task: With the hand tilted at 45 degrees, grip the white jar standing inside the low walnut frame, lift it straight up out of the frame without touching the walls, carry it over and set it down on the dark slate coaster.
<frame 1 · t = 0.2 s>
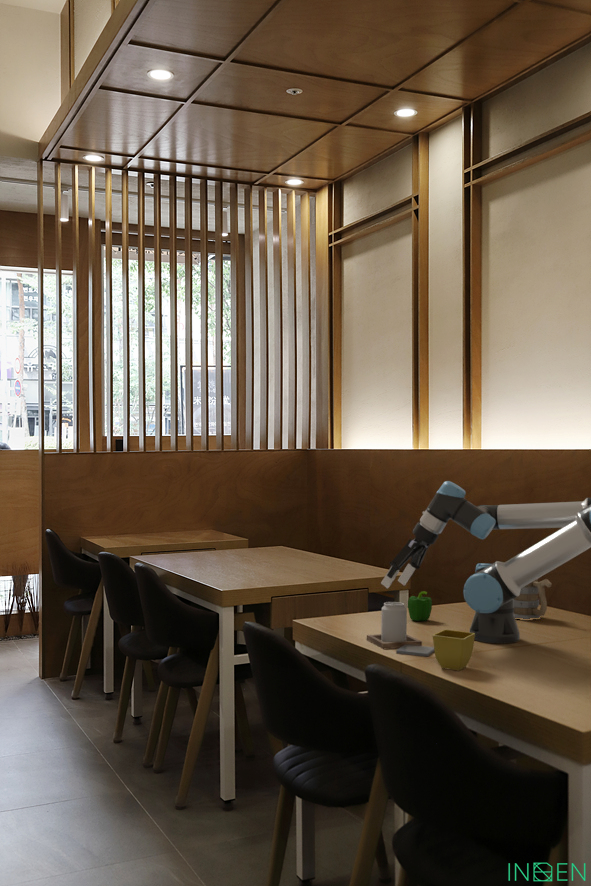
hand: (392, 584, 256), 16 cm above the table, tool tilted 30°, fingers open, 13 cm apart
flower pot: (453, 668, 217), on the table
slate coaster: (415, 651, 236), on the table
walnut frame: (393, 643, 247), on the table
tankard: (529, 619, 290), on the table
white jar: (393, 643, 247), resting in walnut frame
bell pepper: (419, 620, 285), on the table
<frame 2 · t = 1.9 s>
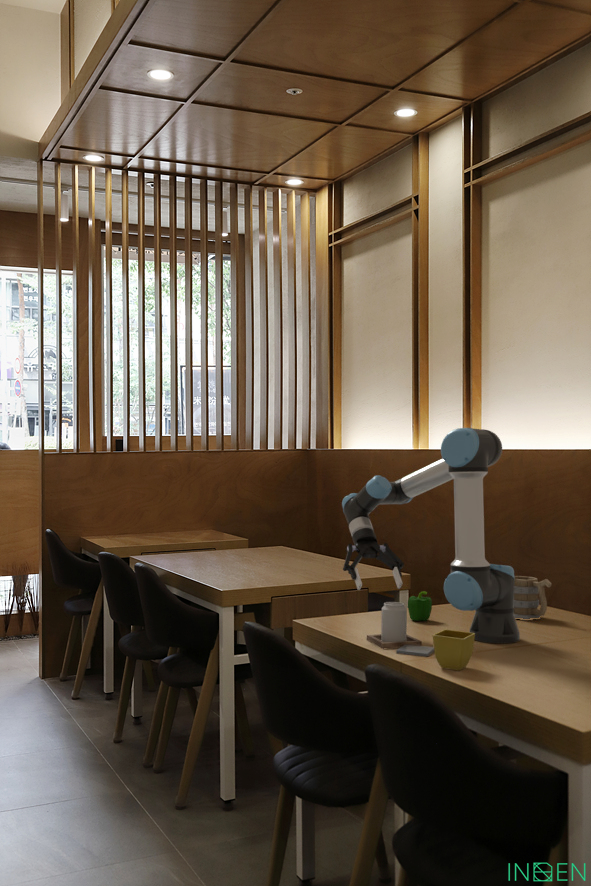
hand: (380, 586, 257), 15 cm above the table, tool tilted 45°, fingers open, 13 cm apart
nothing on the table moved.
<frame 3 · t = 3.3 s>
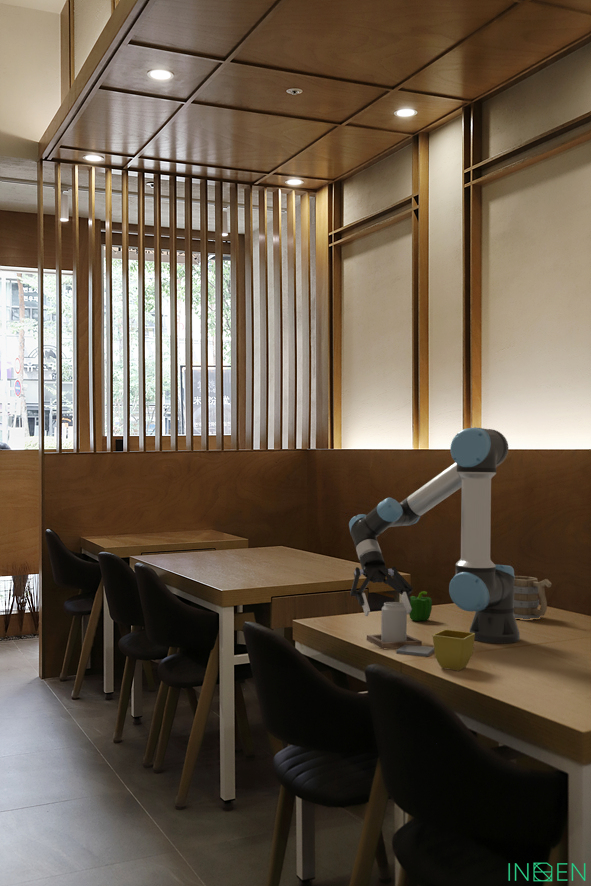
hand: (388, 612, 249), 9 cm above the table, tool tilted 45°, fingers open, 13 cm apart
nothing on the table moved.
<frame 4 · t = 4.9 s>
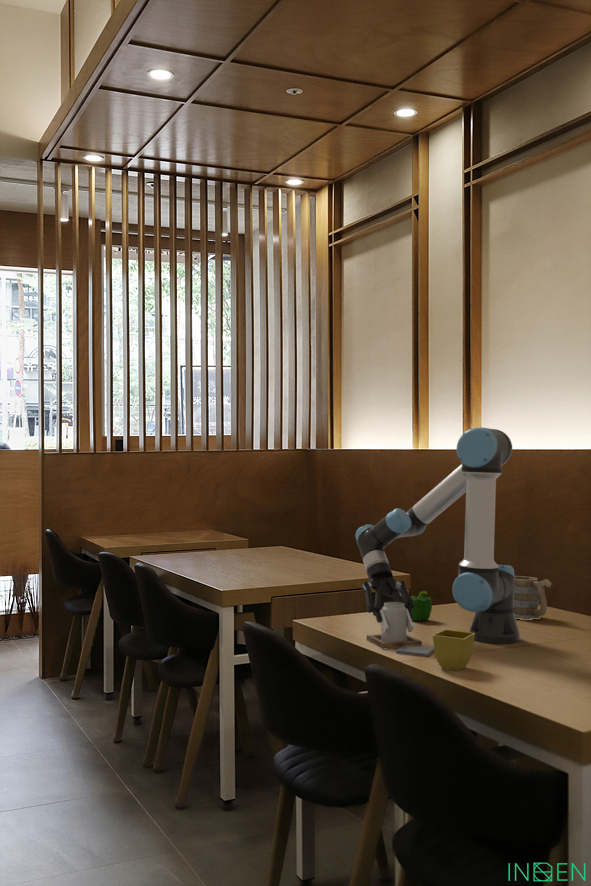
hand: (398, 630, 244), 5 cm above the table, tool tilted 45°, fingers closed on white jar, 7 cm apart
white jar: (393, 643, 247), resting in walnut frame, touching gripper
everything else where it was.
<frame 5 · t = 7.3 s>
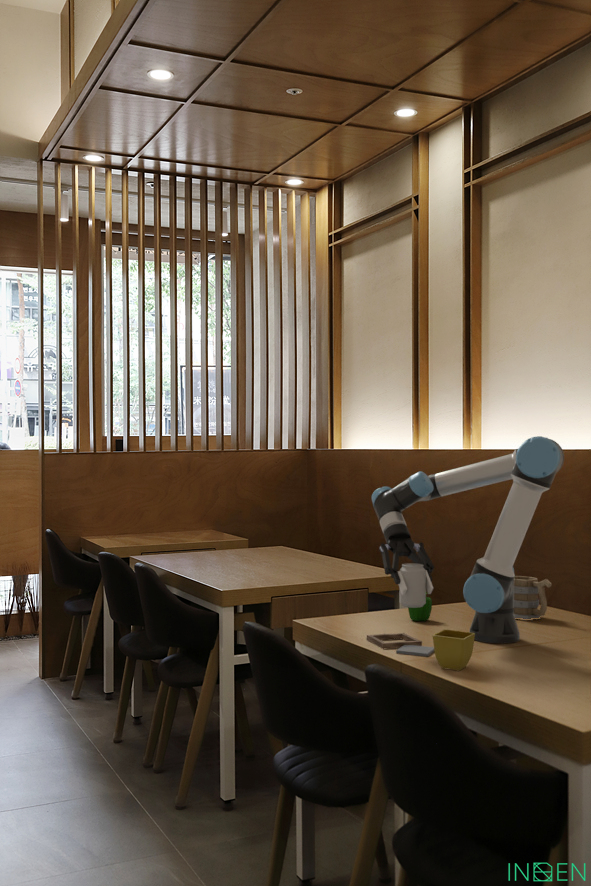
hand: (417, 591, 234), 17 cm above the table, tool tilted 45°, fingers closed on white jar, 7 cm apart
white jar: (412, 606, 237), point 13 cm above the table, touching gripper
everything else where it was.
when the fingers open (6 cm above the table, at t = 10.0 s): white jar stays where it is, resting on slate coaster.
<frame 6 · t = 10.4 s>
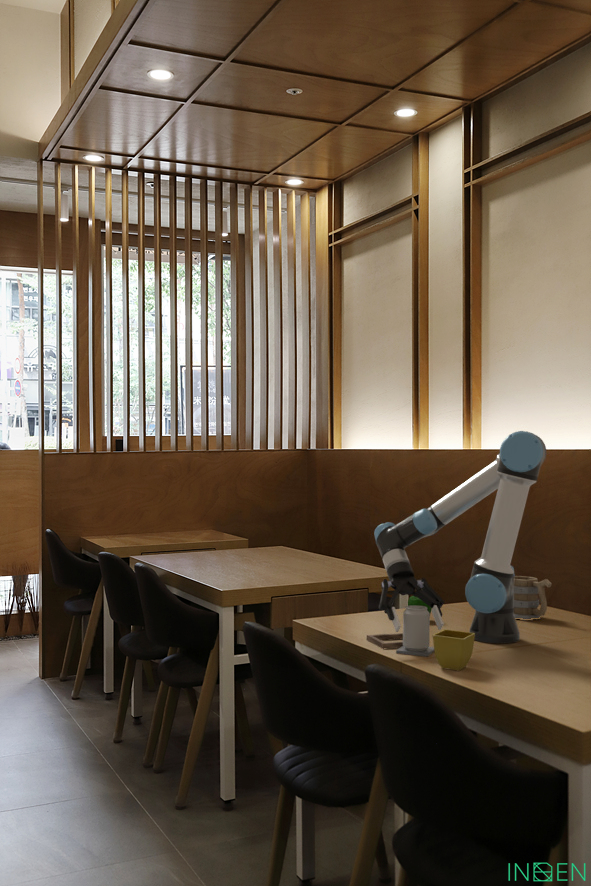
hand: (419, 628, 234), 7 cm above the table, tool tilted 45°, fingers open, 13 cm apart
white jar: (415, 649, 236), point 1 cm above the table, touching slate coaster
everything else where it was.
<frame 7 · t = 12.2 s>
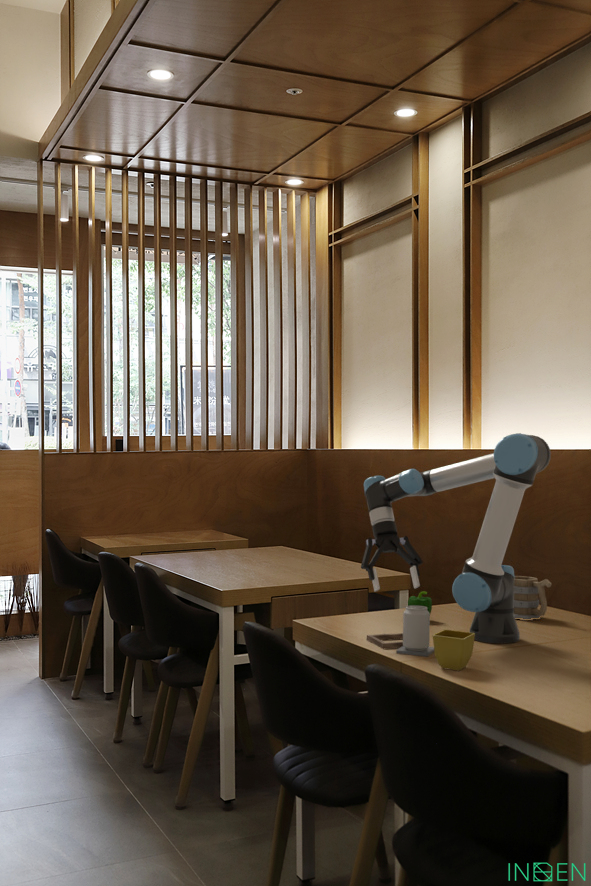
hand: (397, 588, 253), 15 cm above the table, tool tilted 25°, fingers open, 13 cm apart
nothing on the table moved.
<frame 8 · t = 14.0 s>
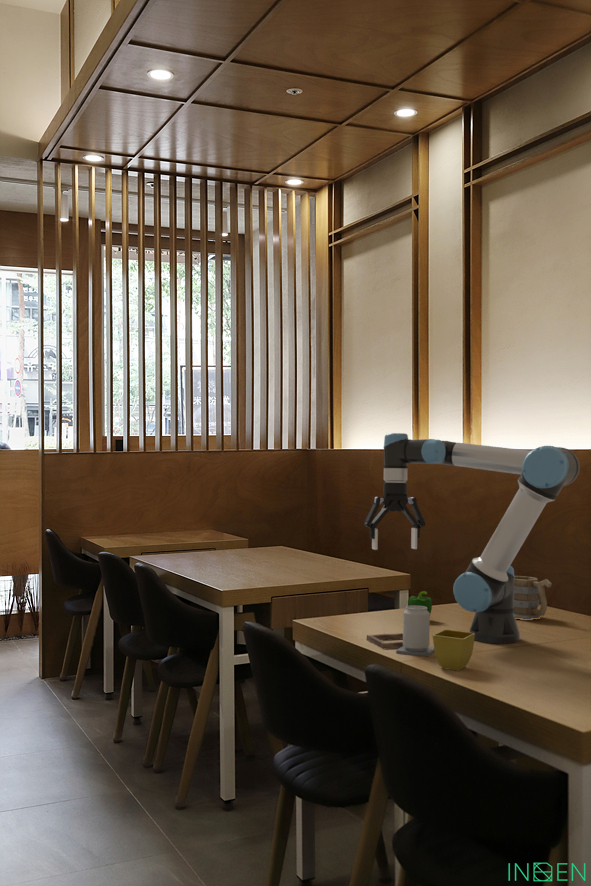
hand: (394, 549, 261), 27 cm above the table, tool pointing down, fingers open, 13 cm apart
nothing on the table moved.
at the end: white jar inside the target area on the slate coaster (0.1 cm from its centre), point 0.6 cm above the slate coaster's base; white jar tilted 0°; white jar touching slate coaster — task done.
